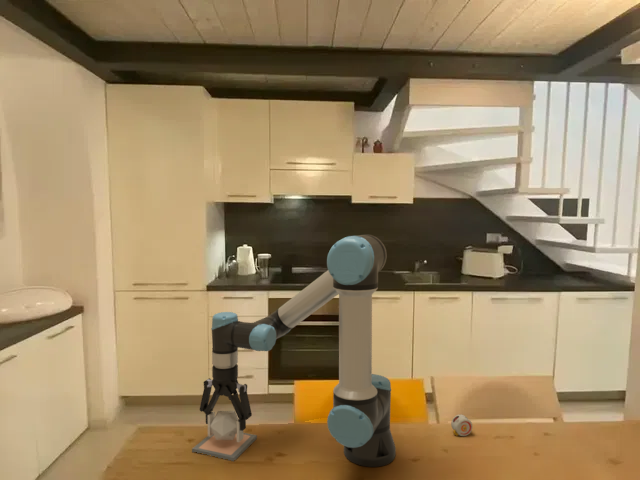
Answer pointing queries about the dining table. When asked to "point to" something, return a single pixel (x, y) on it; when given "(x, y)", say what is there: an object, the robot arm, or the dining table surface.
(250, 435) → the base plate
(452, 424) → the roller toy
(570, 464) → the dining table surface
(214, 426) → the die
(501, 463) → the dining table surface
